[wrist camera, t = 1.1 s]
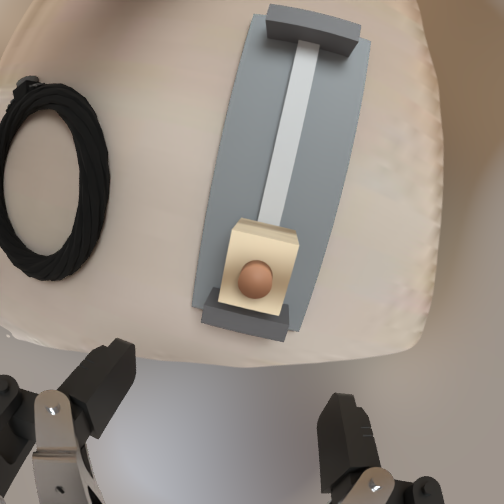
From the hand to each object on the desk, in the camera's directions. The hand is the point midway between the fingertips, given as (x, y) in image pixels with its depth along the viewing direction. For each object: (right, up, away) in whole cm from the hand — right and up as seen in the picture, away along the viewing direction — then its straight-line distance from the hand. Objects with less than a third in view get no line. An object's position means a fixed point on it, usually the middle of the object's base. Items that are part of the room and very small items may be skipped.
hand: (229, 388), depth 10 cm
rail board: (+4, +13, +16) cm, 21 cm away
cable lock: (-28, +16, +19) cm, 38 cm away
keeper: (+2, +5, +16) cm, 17 cm away
